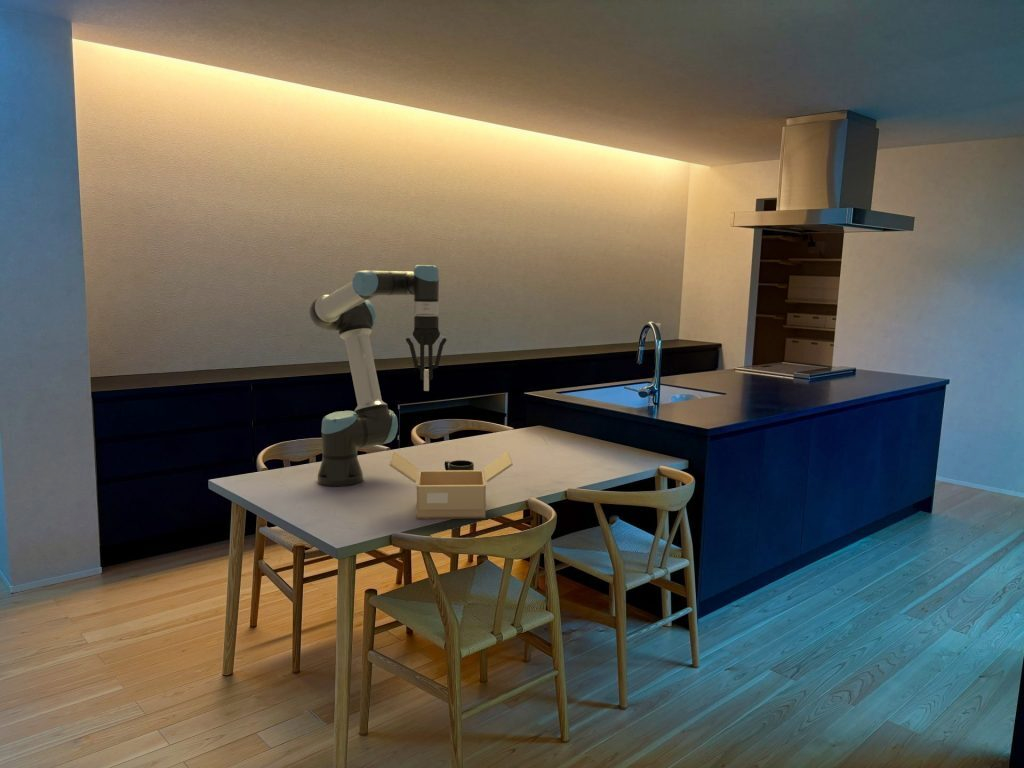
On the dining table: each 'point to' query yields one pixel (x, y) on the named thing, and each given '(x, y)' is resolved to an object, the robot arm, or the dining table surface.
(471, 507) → the carton
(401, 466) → the flap left
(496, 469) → the flap right
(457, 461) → the mug
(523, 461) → the dining table surface
